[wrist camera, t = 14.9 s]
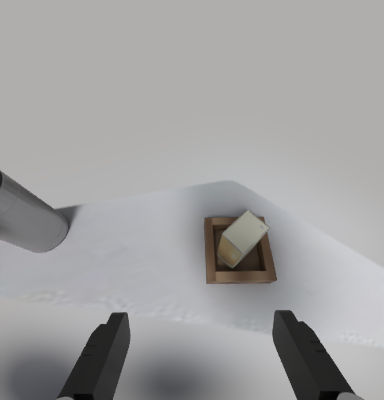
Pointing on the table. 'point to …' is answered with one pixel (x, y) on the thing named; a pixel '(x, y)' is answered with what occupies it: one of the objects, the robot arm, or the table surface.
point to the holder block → (247, 268)
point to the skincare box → (241, 238)
